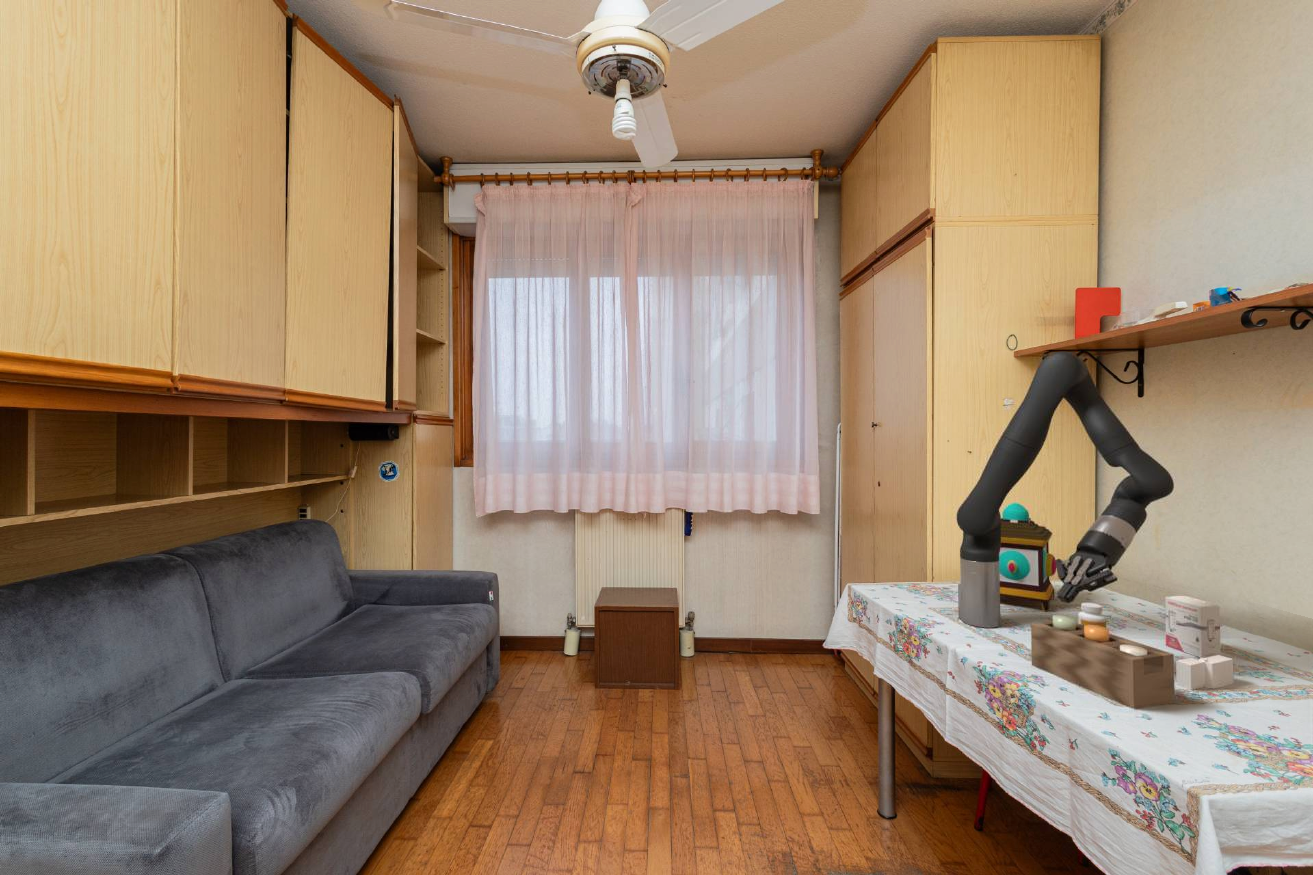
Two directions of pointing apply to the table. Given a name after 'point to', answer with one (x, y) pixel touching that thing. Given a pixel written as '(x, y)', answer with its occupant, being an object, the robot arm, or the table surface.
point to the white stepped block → (1204, 672)
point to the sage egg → (1064, 623)
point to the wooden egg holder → (1105, 665)
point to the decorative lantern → (1025, 557)
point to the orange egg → (1096, 633)
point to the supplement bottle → (1091, 615)
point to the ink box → (1193, 626)
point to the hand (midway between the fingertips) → (1062, 600)
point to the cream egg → (1133, 650)
